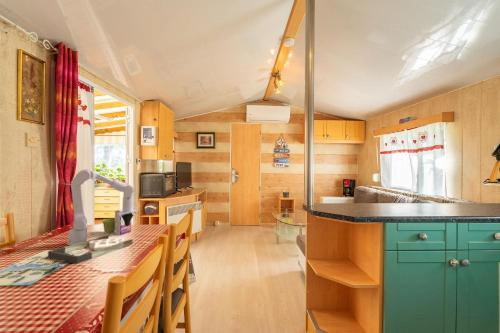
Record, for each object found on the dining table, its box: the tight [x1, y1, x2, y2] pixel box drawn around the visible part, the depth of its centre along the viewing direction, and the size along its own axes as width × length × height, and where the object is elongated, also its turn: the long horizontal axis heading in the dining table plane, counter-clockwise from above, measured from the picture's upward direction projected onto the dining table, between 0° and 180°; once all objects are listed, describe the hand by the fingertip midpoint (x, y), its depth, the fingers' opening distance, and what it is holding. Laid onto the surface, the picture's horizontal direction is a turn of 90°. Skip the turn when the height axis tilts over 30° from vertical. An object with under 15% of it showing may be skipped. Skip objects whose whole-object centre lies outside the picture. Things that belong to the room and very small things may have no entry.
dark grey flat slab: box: [47, 246, 93, 264], centre depth 132 cm, size 20×8×3 cm, turn 70°
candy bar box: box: [114, 208, 132, 236], centre depth 182 cm, size 11×5×16 cm, turn 168°
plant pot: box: [102, 218, 115, 234], centre depth 184 cm, size 9×9×9 cm
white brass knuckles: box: [88, 237, 125, 251], centre depth 153 cm, size 3×18×15 cm
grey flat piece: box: [64, 234, 134, 259], centre depth 148 cm, size 20×27×3 cm
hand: (127, 225), depth 166 cm, fingers closed
